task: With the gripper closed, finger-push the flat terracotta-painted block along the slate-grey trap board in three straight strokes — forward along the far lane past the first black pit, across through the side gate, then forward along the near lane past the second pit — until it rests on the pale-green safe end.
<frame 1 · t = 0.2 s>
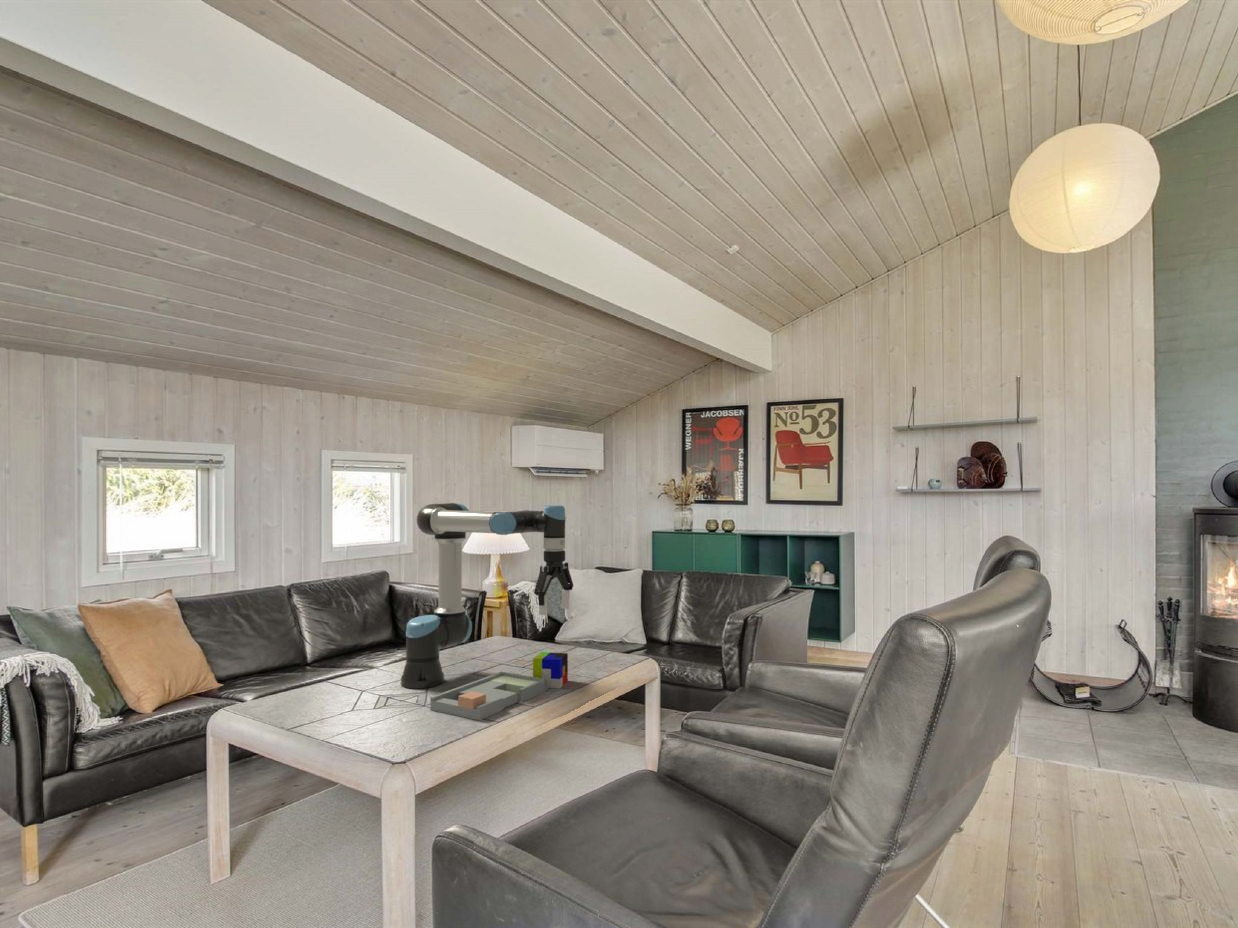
hand: (554, 611, 239), 28 cm above the table, fingers open, 13 cm apart
block: (472, 704, 217), point 3 cm above the table, touching trap box
puzzle toy: (550, 684, 250), on the table
trap box: (490, 700, 231), on the table
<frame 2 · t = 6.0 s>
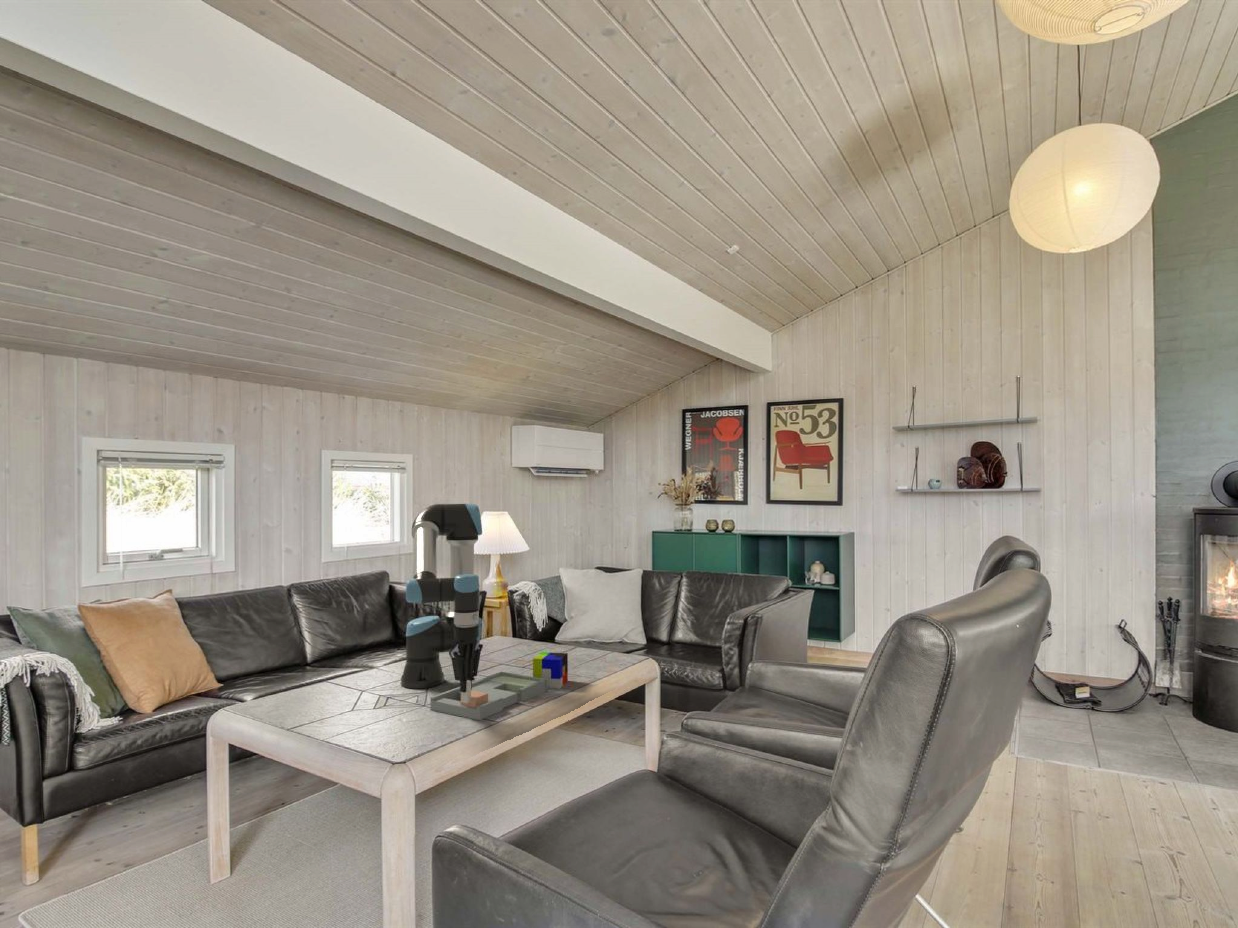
hand: (466, 701, 214), 5 cm above the table, fingers closed
block: (474, 703, 217), point 3 cm above the table, touching trap box
everything else where it was.
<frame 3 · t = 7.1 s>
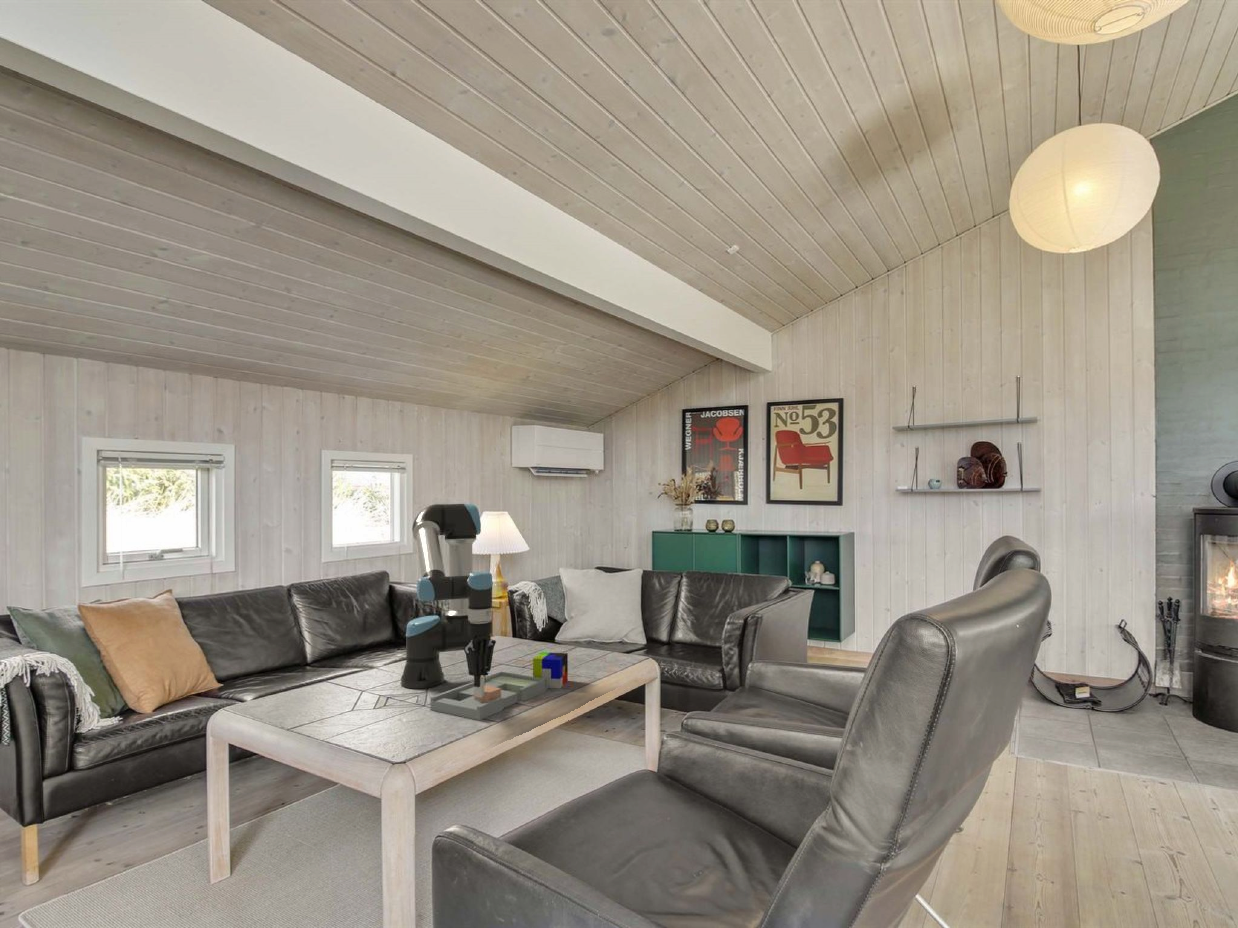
hand: (479, 696, 220), 5 cm above the table, fingers closed
block: (487, 698, 223), point 3 cm above the table, touching gripper
everything else where it was.
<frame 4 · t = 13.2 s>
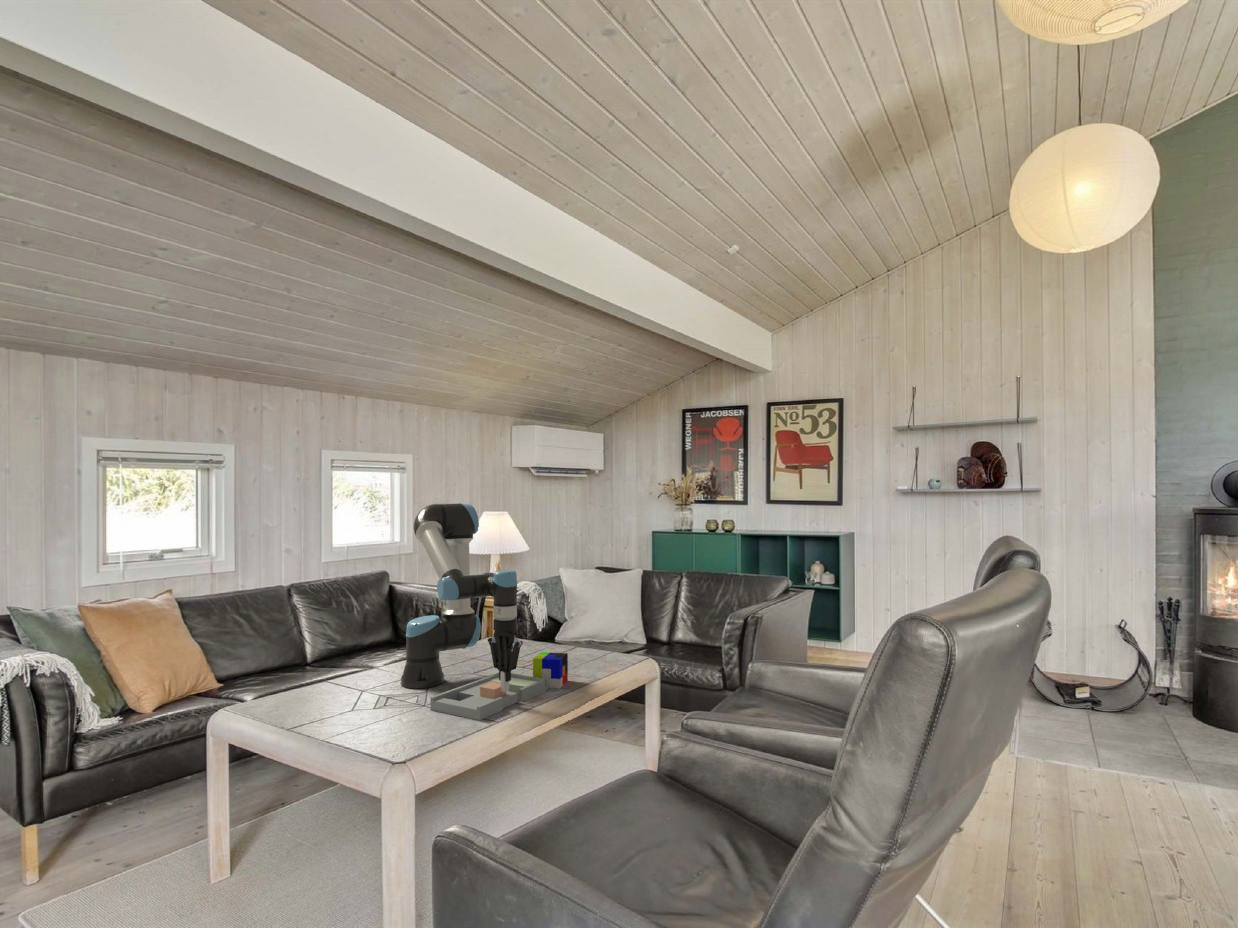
hand: (504, 690, 226), 5 cm above the table, fingers closed
block: (493, 694, 227), point 3 cm above the table, touching trap box
everything else where it was.
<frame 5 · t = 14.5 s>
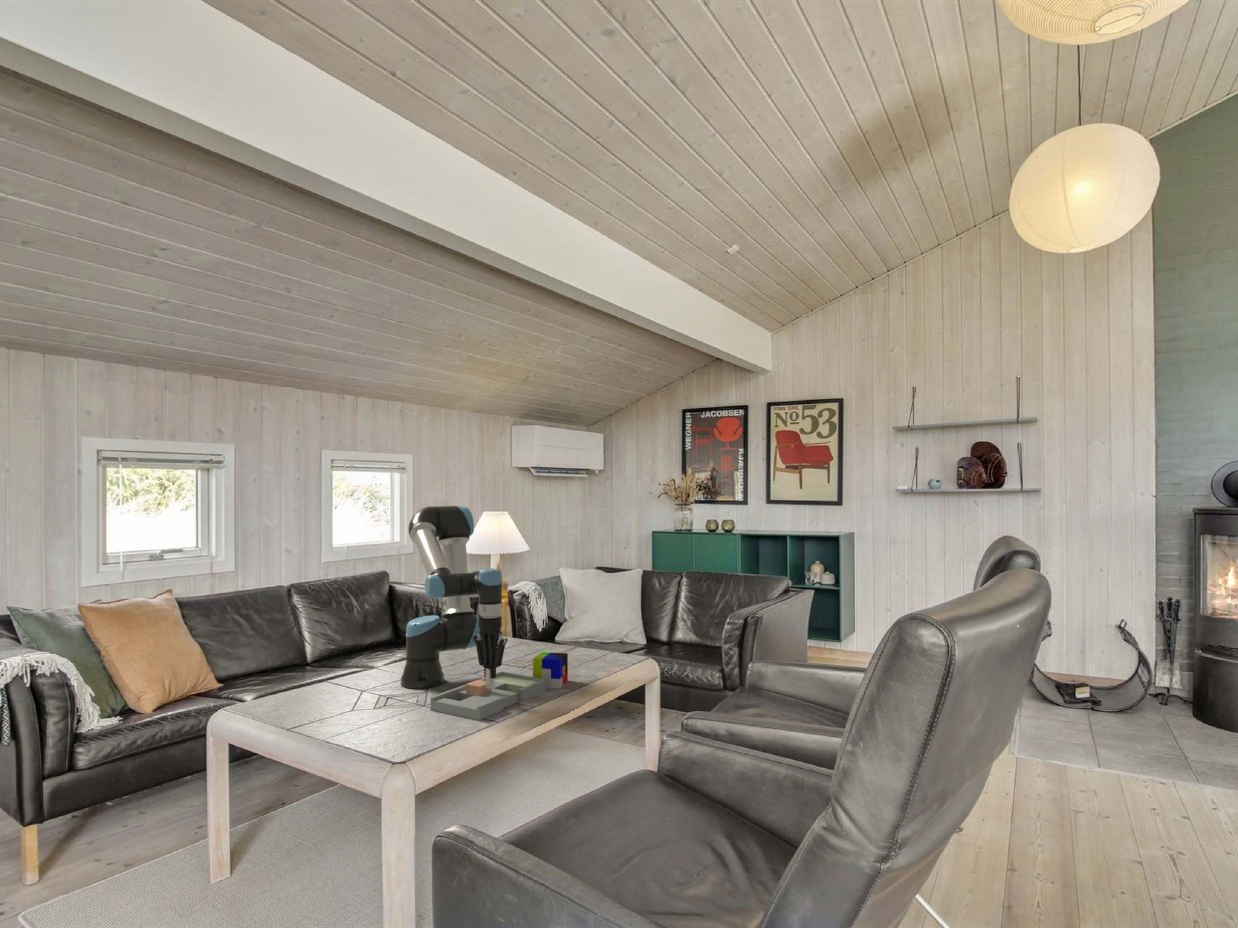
hand: (490, 687, 229), 5 cm above the table, fingers closed
block: (478, 692, 230), point 3 cm above the table, touching gripper, trap box
everything else where it was.
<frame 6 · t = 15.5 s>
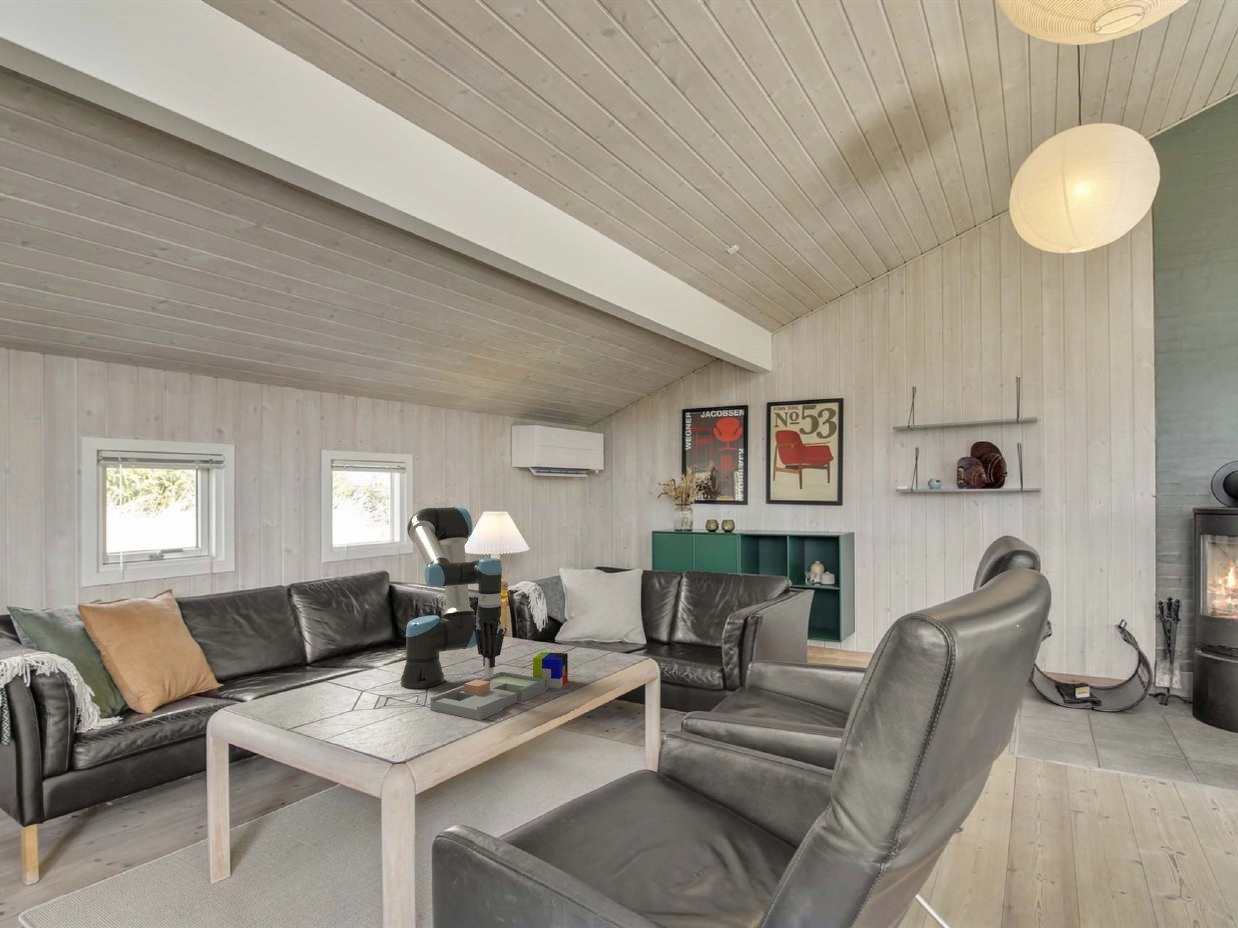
hand: (488, 676, 230), 8 cm above the table, fingers closed
block: (477, 691, 230), point 3 cm above the table, touching trap box
everything else where it was.
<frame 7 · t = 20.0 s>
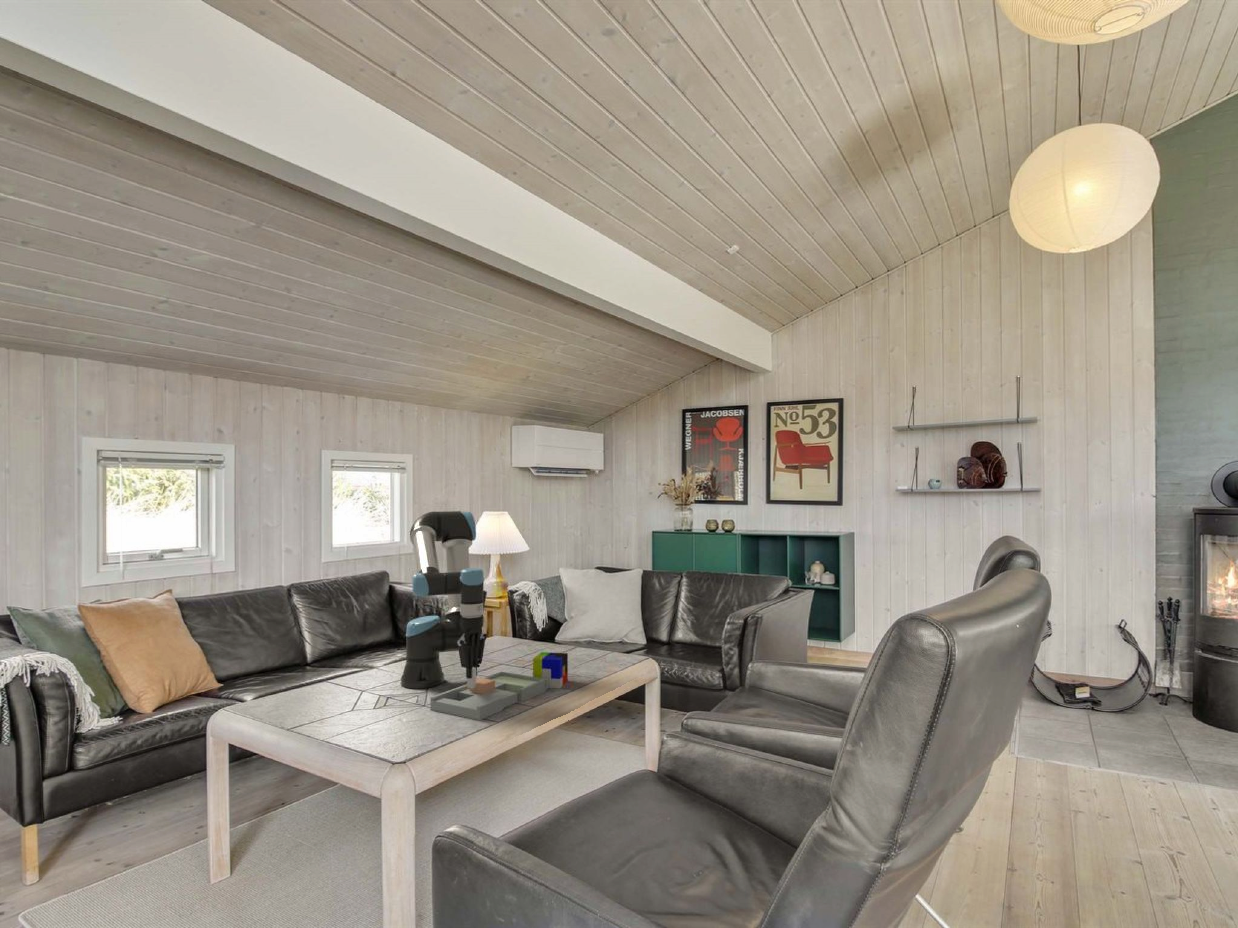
hand: (471, 687, 230), 5 cm above the table, fingers closed
block: (482, 690, 232), point 3 cm above the table, touching gripper, trap box
everything else where it was.
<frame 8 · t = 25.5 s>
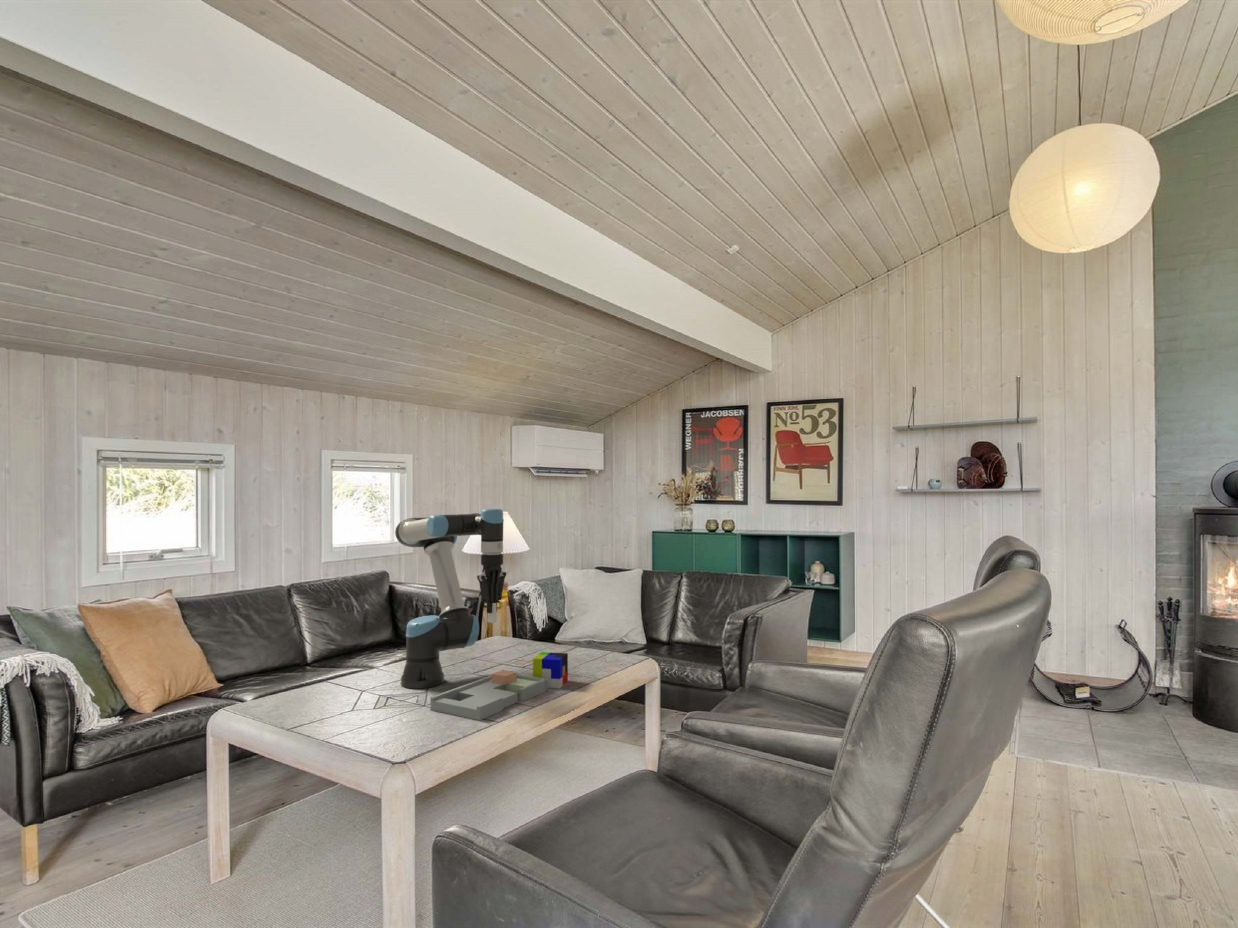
hand: (491, 622, 239), 24 cm above the table, fingers closed
block: (504, 681, 242), point 3 cm above the table, touching trap box
everything else where it was.
at the end: block inside the target area on the trap box (3.6 cm from its centre), point 3.0 cm above the trap box's base; block tilted 0° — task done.
